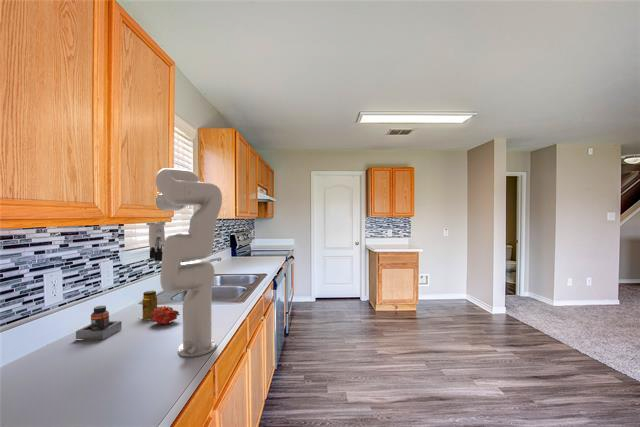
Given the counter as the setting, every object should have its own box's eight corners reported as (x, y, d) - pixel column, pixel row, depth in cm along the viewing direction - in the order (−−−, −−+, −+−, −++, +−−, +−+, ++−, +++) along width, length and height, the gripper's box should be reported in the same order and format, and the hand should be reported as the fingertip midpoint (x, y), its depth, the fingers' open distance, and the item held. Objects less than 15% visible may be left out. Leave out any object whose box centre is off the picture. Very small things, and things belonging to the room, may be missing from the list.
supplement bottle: (110, 330, 121) (110, 303, 122) (107, 336, 116) (107, 308, 116) (92, 333, 119) (93, 305, 119) (88, 339, 114) (88, 310, 114)
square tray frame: (103, 340, 112) (103, 331, 112) (75, 340, 112) (75, 331, 112) (121, 329, 123) (121, 321, 123) (96, 329, 123) (96, 321, 123)
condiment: (138, 318, 136) (138, 292, 136) (154, 312, 144) (154, 288, 144) (149, 320, 133) (149, 294, 133) (165, 314, 141) (165, 289, 141)
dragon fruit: (148, 328, 129) (177, 329, 132) (145, 322, 122) (176, 323, 125) (153, 309, 134) (181, 310, 137) (151, 302, 127) (180, 304, 130)
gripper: (170, 222, 128) (170, 260, 128) (160, 221, 142) (160, 256, 141) (150, 222, 124) (150, 262, 123) (142, 221, 137) (142, 258, 137)
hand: (156, 259), depth 132 cm, fingers open, 9 cm apart
